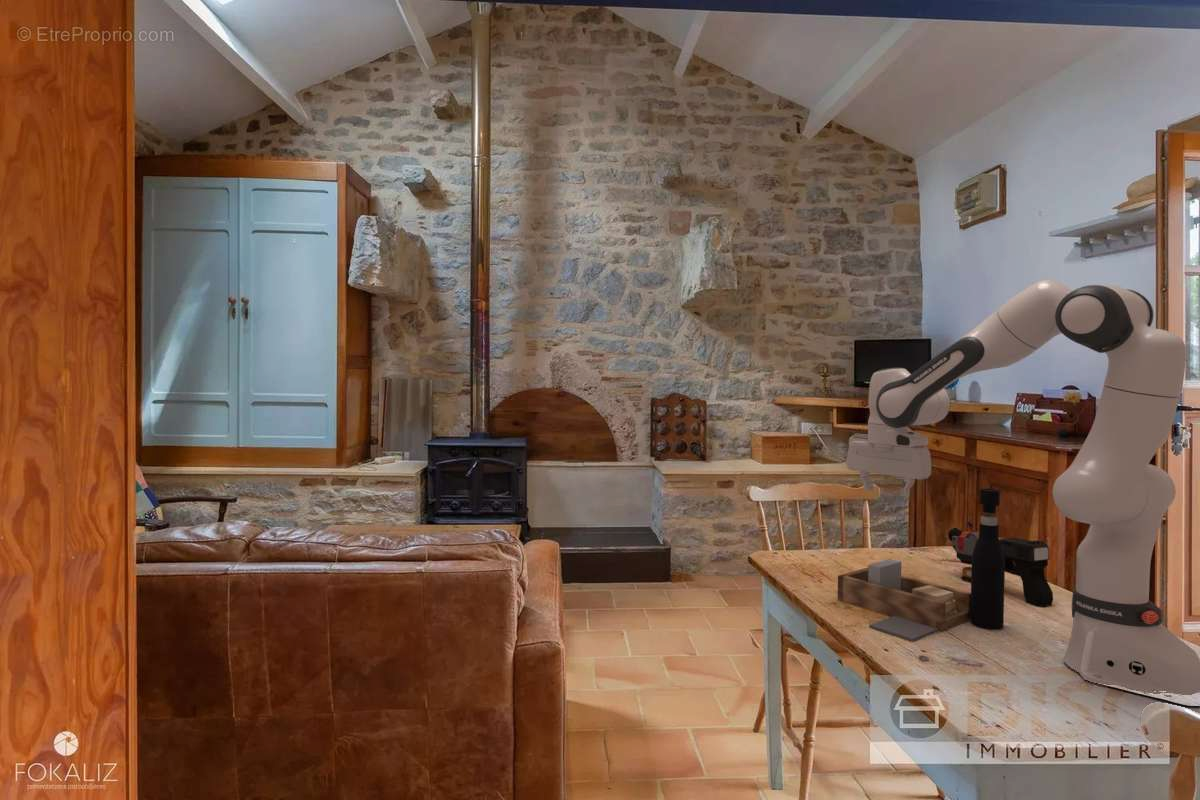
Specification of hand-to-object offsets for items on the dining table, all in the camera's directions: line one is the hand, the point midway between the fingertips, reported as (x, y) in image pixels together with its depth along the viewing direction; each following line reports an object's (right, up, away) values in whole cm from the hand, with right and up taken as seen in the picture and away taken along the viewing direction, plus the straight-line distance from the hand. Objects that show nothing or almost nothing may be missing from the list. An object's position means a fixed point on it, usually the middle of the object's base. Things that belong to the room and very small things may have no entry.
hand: (886, 493), depth 167 cm
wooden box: (+3, -27, -3) cm, 27 cm away
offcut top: (+7, -23, -9) cm, 26 cm away
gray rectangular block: (0, -27, +1) cm, 27 cm away
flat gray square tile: (-3, -27, -16) cm, 32 cm away
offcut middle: (+7, -25, -9) cm, 28 cm away
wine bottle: (+17, -28, -13) cm, 35 cm away
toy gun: (+33, -27, +13) cm, 45 cm away
